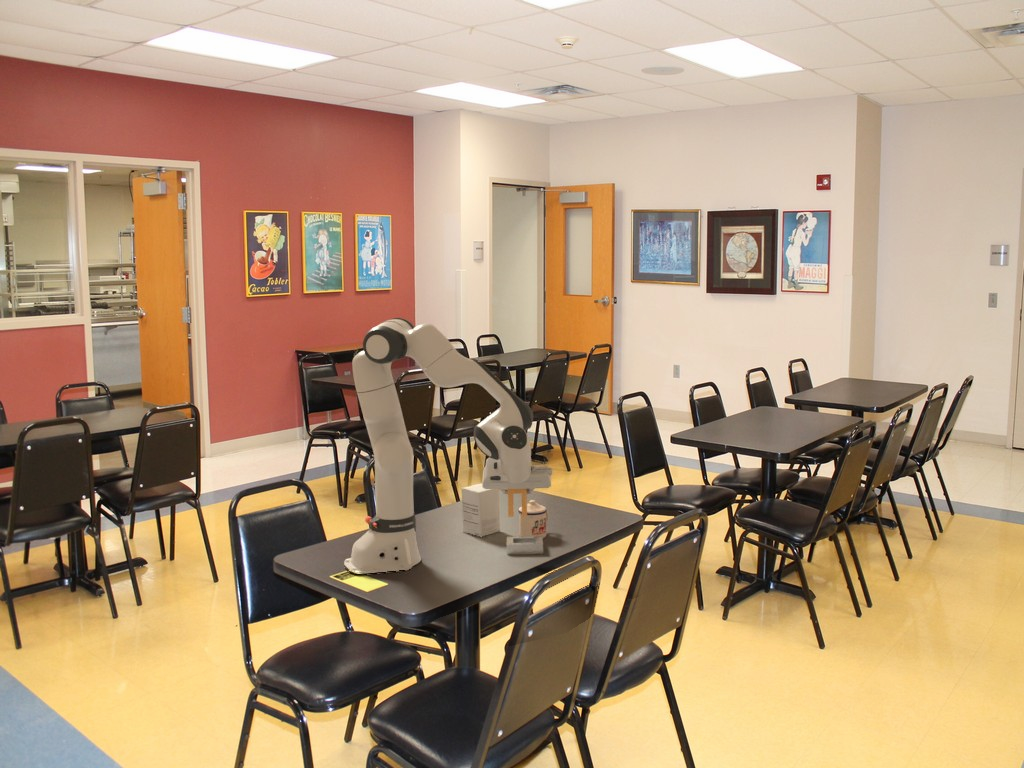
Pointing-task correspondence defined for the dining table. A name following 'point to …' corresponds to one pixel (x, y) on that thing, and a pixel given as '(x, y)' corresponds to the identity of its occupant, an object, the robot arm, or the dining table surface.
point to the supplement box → (480, 510)
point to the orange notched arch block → (511, 504)
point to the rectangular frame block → (525, 545)
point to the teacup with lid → (533, 520)
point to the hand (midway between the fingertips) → (517, 492)
